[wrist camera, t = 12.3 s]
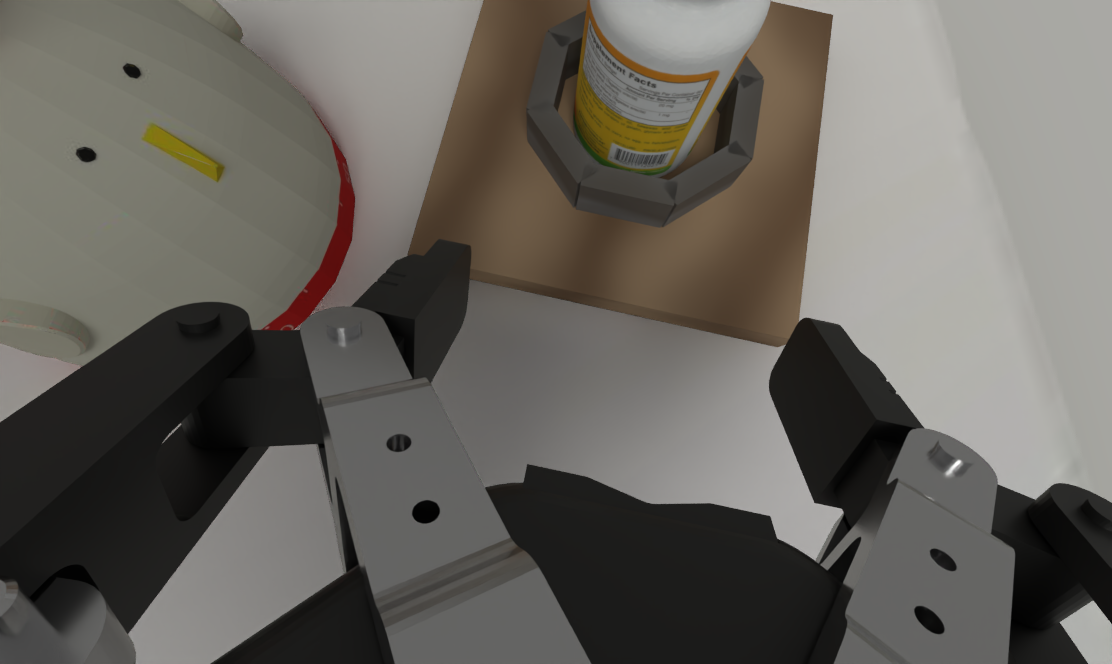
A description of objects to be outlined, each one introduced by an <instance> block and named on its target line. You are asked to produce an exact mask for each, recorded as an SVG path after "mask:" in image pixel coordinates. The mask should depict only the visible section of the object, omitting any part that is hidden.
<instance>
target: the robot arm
mask: <svg viewBox="0 0 1112 664" xmlns="http://www.w3.org/2000/svg"><path fill="white" fill-rule="evenodd" d="M470 267H471V246H470V245H467V244H462V243H457V242H453V241H448V240H443V239H438V240H437V241H436V242H435V243H434V245H433V246H432V247H431V248H430V249H429V250H428V251H427V253H426V254H425V255H424V256H422V255H417V254H412V255H409V256H407V257H404V258H402V259H399V260H397V261H395V262H394V264H393V265H392V266H391V267H390V268H389V269H388V270H387V271H386V274H385V273H384V274H383V275H382V276H381V277H380V278H379V279H378V281H377V282H375V283H374V284H373V285H372V286H371V287H370V288H369V289H368V290H367V291H366V292H365V293H364V294H363V295H362V296H361V297H360V298H359V299H358V300H357V301H356V302H355V303H354V304H353V305H352V306H351V307H335V308H329V309H325V310H322V311H319V312H317V313H315V314H313V315H311V316H310V317H308V318H307V319H306V320H305V321H304V322H303V323H302V325H301V328H300V330H252V328H251V323H250V318H249V315H248V313H247V312H246V311H245V310H244V309H242V308H241V307H239V306H236V305H233V304H229V303H223V302H199V303H191V304H186V305H182V306H178V307H175V308H172V309H170V310H167V311H165V312H163V313H161V314H160V315H158V316H156V317H155V318H153V319H152V320H150V321H149V322H147V323H146V324H144V325H143V326H141V327H140V328H139V329H137V330H136V331H134V332H133V333H131V334H130V335H128V336H127V337H125V338H124V339H122V340H121V341H119V342H118V343H116V344H115V345H113V346H112V347H111V348H109V349H108V350H106V351H105V352H103V353H102V354H100V355H99V356H97V357H96V358H94V359H93V360H91V361H90V362H88V363H87V364H85V365H84V366H83V367H81V368H80V369H78V370H77V371H75V372H74V373H72V374H71V375H69V376H68V377H66V378H65V379H63V380H62V381H60V382H59V383H57V384H56V385H55V386H53V387H52V388H50V389H49V390H47V391H46V392H44V393H43V394H41V395H40V396H38V397H37V398H35V399H34V400H32V401H31V402H29V403H28V404H27V405H25V406H24V407H22V408H21V409H19V410H18V411H16V412H15V413H13V414H12V415H10V416H9V417H7V418H6V419H4V420H3V421H1V422H0V664H136V651H135V647H134V644H133V642H132V640H131V638H130V637H129V635H128V633H129V632H130V631H131V629H132V628H133V627H134V625H135V624H136V623H137V621H138V620H139V619H140V617H141V616H142V615H143V613H144V612H145V611H146V609H147V608H148V607H149V605H150V604H151V603H152V601H153V600H154V599H155V597H156V596H157V595H158V593H159V592H160V591H161V589H162V588H163V587H164V585H165V584H166V583H167V581H168V580H169V579H170V577H171V576H172V575H173V573H174V572H175V571H176V569H177V568H178V567H179V566H180V564H181V563H182V562H183V560H184V559H185V558H186V556H187V555H188V554H189V552H190V551H191V550H192V548H193V547H194V546H195V544H196V543H197V542H198V540H199V539H200V538H201V536H202V535H203V534H204V532H205V531H206V530H207V528H208V527H209V526H210V524H211V523H212V522H213V520H214V519H215V518H216V516H217V515H218V514H219V512H220V511H221V510H222V508H223V507H224V506H225V504H226V503H227V502H228V500H229V499H230V498H231V497H232V495H233V494H234V493H235V491H236V490H237V489H238V487H239V486H240V485H241V483H242V482H243V481H244V479H245V478H246V477H247V475H248V474H249V473H250V471H251V470H252V469H253V467H254V466H255V465H256V463H257V462H258V461H259V459H260V458H261V457H262V455H263V454H264V453H265V451H266V450H267V449H268V447H269V446H284V445H305V444H316V446H317V450H318V455H319V459H320V464H321V468H322V472H323V477H324V481H325V485H326V490H327V494H328V498H329V503H330V507H331V511H332V516H333V520H334V525H335V530H336V536H337V542H338V547H339V553H340V558H341V563H342V568H343V572H344V574H343V575H342V576H340V577H339V578H338V579H336V580H335V581H333V582H332V583H330V584H329V585H327V586H326V587H324V588H323V589H321V590H320V591H318V592H317V593H315V594H314V595H312V596H311V597H309V598H308V599H306V600H305V601H303V602H302V603H300V604H299V605H297V606H296V607H294V608H293V609H291V610H290V611H288V612H287V613H285V614H284V615H282V616H281V617H279V618H278V619H276V620H275V621H273V622H272V623H271V624H269V625H268V626H266V627H265V628H263V629H262V630H260V631H259V632H257V633H256V634H254V635H253V636H251V637H250V638H248V639H247V640H245V641H244V642H242V643H241V644H239V645H238V646H236V647H235V648H233V649H232V650H230V651H229V652H227V653H226V654H224V655H223V656H221V657H220V658H218V659H217V660H215V661H214V662H212V663H211V664H1088V663H1087V661H1086V660H1085V659H1084V657H1083V656H1082V654H1081V653H1080V651H1079V650H1078V648H1077V647H1076V645H1075V644H1074V643H1073V641H1072V640H1071V638H1070V637H1069V635H1068V634H1067V632H1066V631H1065V630H1064V628H1063V627H1062V625H1061V624H1060V622H1061V621H1062V620H1064V619H1065V618H1067V617H1068V616H1070V615H1071V614H1073V613H1074V612H1076V611H1077V610H1079V609H1080V608H1082V607H1083V606H1085V605H1087V604H1088V603H1090V602H1091V601H1093V600H1094V602H1095V603H1096V604H1097V606H1098V607H1099V608H1100V609H1101V611H1102V612H1103V613H1104V615H1105V616H1106V617H1107V618H1108V620H1109V621H1110V622H1111V624H1112V503H1111V502H1109V501H1107V500H1106V499H1104V498H1102V497H1100V496H1098V495H1096V494H1094V493H1092V492H1090V491H1088V490H1085V489H1082V488H1080V487H1077V486H1073V485H1069V484H1062V483H1058V484H1054V485H1052V486H1051V487H1050V488H1049V489H1047V490H1046V491H1045V492H1044V493H1043V494H1042V495H1041V496H1039V497H1038V498H1037V499H1036V500H1035V499H1032V498H1030V497H1027V496H1025V495H1022V494H1020V493H1017V492H1015V491H1013V490H1010V489H1008V488H1005V487H1003V486H1000V485H998V484H997V483H998V481H997V476H996V474H995V472H994V471H993V469H992V468H991V466H990V465H989V464H988V463H987V462H986V461H985V460H984V459H983V458H982V457H981V456H980V455H979V454H977V453H976V452H975V451H973V450H972V449H971V448H969V447H968V446H966V445H965V444H963V443H961V442H960V441H958V440H956V439H954V438H952V437H950V436H948V435H945V434H943V433H940V432H937V431H934V430H930V429H924V427H923V426H922V425H921V423H920V422H919V421H918V419H917V418H916V417H915V415H914V414H913V413H912V412H911V410H910V409H909V408H908V406H907V405H906V404H905V402H904V401H903V400H902V398H901V397H900V396H899V395H898V394H896V391H895V389H894V388H893V387H892V385H891V384H890V383H889V382H887V381H886V377H885V376H884V375H883V373H882V372H881V371H880V369H879V368H878V367H877V366H876V364H875V363H874V362H872V361H871V360H870V359H869V358H867V357H866V356H865V355H864V354H862V353H861V352H860V351H859V350H858V348H857V347H856V346H855V344H854V343H853V341H852V340H851V339H850V337H849V336H848V335H847V333H846V332H845V331H844V329H843V328H842V327H841V326H840V325H838V324H834V323H829V322H825V321H820V320H815V319H811V318H804V319H802V320H801V321H800V322H799V323H798V324H797V325H796V327H795V329H794V331H793V332H792V334H791V336H790V338H789V340H788V342H787V344H786V345H785V347H784V349H783V351H782V353H781V355H780V357H779V358H778V360H777V362H776V364H775V366H774V368H773V370H772V372H771V376H770V380H769V391H770V395H771V397H772V400H773V402H774V405H775V407H776V410H777V412H778V415H779V417H780V420H781V422H782V424H783V427H784V429H785V432H786V434H787V437H788V439H789V442H790V444H791V446H792V449H793V451H794V454H795V456H796V459H797V461H798V464H799V466H800V468H801V471H802V473H803V476H804V478H805V481H806V483H807V486H808V488H809V491H810V493H811V495H812V498H813V500H814V503H818V504H823V505H827V506H832V507H837V508H841V509H842V510H843V512H844V513H843V514H842V515H841V516H840V518H839V519H838V520H837V521H836V523H835V524H834V526H833V528H832V529H831V531H830V533H829V535H828V537H827V539H826V541H825V543H824V545H823V547H822V549H821V551H820V552H819V554H818V556H817V558H816V560H813V559H812V558H810V557H809V556H807V555H806V554H804V553H803V552H801V551H800V550H798V549H796V548H795V547H793V546H791V545H789V544H787V543H785V542H783V541H781V540H779V539H777V537H776V534H775V530H774V527H773V524H772V521H771V517H770V516H767V515H762V514H757V513H753V512H748V511H743V510H739V509H734V508H729V507H725V506H720V505H715V504H711V503H707V504H650V503H646V502H643V501H641V500H639V499H636V498H634V497H632V496H629V495H627V494H625V493H623V492H620V491H618V490H616V489H613V488H611V487H609V486H607V485H604V484H602V483H600V482H597V481H595V480H593V479H591V478H588V477H585V476H580V475H575V474H571V473H566V472H561V471H557V470H552V469H548V468H543V467H538V466H534V465H529V464H527V469H526V474H525V478H524V483H507V484H499V485H494V486H490V487H486V488H485V487H484V486H483V484H482V482H481V480H480V478H479V476H478V474H477V472H476V470H475V468H474V466H473V464H472V462H471V461H470V459H469V457H468V455H467V453H466V451H465V449H464V447H463V445H462V443H461V441H460V439H459V437H458V436H457V434H456V432H455V430H454V428H453V426H452V424H451V422H450V420H449V418H448V416H447V414H446V413H445V411H444V409H443V407H442V405H441V403H440V401H439V399H438V397H437V395H436V393H435V391H434V389H433V388H432V386H431V382H432V380H433V378H434V376H435V374H436V373H437V371H438V369H439V367H440V365H441V363H442V361H443V360H444V358H445V356H446V354H447V352H448V350H449V349H450V347H451V345H452V343H453V341H454V339H455V338H456V336H457V334H458V332H459V330H460V328H461V326H462V324H463V321H464V318H465V314H466V309H467V302H468V290H469V279H470ZM180 423H181V426H180V427H179V428H178V429H177V430H176V431H175V432H174V433H173V434H172V435H171V436H170V437H169V438H168V439H167V440H166V441H165V442H164V443H163V444H162V442H163V441H164V439H165V438H166V437H167V436H168V435H169V433H170V432H171V431H172V430H174V429H175V428H176V427H177V426H178V425H179V424H180ZM161 444H162V445H161Z"/></svg>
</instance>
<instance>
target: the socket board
mask: <svg viewBox="0 0 1112 664" xmlns="http://www.w3.org/2000/svg"><path fill="white" fill-rule="evenodd" d="M587 1H588V0H484V1H483V5H482V8H481V11H480V15H479V18H478V21H477V25H476V28H475V31H474V35H473V38H472V41H471V45H470V48H469V51H468V55H467V58H466V61H465V65H464V68H463V71H462V75H461V78H460V81H459V85H458V88H457V91H456V95H455V98H454V101H453V105H452V108H451V111H450V115H449V118H448V121H447V125H446V128H445V131H444V135H443V138H442V141H441V145H440V148H439V151H438V155H437V158H436V161H435V165H434V168H433V171H432V175H431V178H430V181H429V185H428V188H427V191H426V195H425V198H424V201H423V205H422V208H421V211H420V215H419V218H418V221H417V225H416V228H415V231H414V235H413V238H412V241H411V245H410V248H409V251H408V256H409V255H412V254H417V255H422V256H424V255H425V254H426V253H427V251H428V250H429V249H430V248H431V247H432V246H433V245H434V243H435V242H436V241H437V240H438V239H443V240H448V241H453V242H457V243H462V244H467V245H470V246H471V267H470V279H472V280H477V281H481V282H486V283H491V284H495V285H500V286H504V287H509V288H513V289H518V290H522V291H527V292H531V293H536V294H540V295H545V296H549V297H554V298H558V299H563V300H567V301H572V302H576V303H581V304H585V305H590V306H594V307H599V308H603V309H608V310H612V311H617V312H621V313H626V314H631V315H635V316H640V317H644V318H649V319H653V320H658V321H662V322H667V323H671V324H676V325H680V326H685V327H689V328H694V329H698V330H703V331H707V332H712V333H716V334H721V335H725V336H730V337H734V338H739V339H743V340H748V341H752V342H757V343H761V344H766V345H770V346H775V347H780V346H782V345H785V344H787V342H788V340H789V338H790V336H791V334H792V332H793V331H794V329H795V327H796V325H797V324H798V322H799V313H800V304H801V295H802V286H803V278H804V269H805V260H806V251H807V242H808V233H809V224H810V215H811V206H812V197H813V188H814V179H815V171H816V162H817V153H818V144H819V135H820V126H821V117H822V108H823V99H824V90H825V81H826V72H827V63H828V55H829V46H830V37H831V28H832V19H833V15H831V14H826V13H822V12H817V11H813V10H808V9H804V8H799V7H795V6H790V5H785V4H781V3H776V2H772V1H771V2H770V7H769V10H768V13H767V16H766V18H765V21H764V23H763V25H762V27H761V29H760V31H759V33H758V35H757V37H756V39H755V41H754V43H753V44H752V46H751V48H750V50H749V52H748V53H747V55H746V57H745V58H744V60H743V62H742V64H741V65H740V67H739V69H738V71H737V72H736V74H735V76H734V77H733V79H732V81H731V83H730V84H729V86H728V88H727V90H726V91H725V93H724V95H723V97H722V98H721V100H720V102H719V104H718V105H717V107H716V109H715V111H714V112H713V114H712V116H711V118H710V119H709V121H708V123H707V125H706V126H705V128H704V130H703V132H702V133H701V135H700V137H699V139H698V141H697V143H696V144H695V146H694V148H693V149H692V151H691V152H690V154H689V155H688V157H687V158H686V159H685V160H684V162H683V163H682V164H681V165H680V166H678V167H677V168H676V169H675V170H673V171H672V172H670V173H668V174H667V175H664V176H662V177H659V178H657V177H652V176H648V175H643V174H639V173H634V172H630V171H625V170H620V169H616V168H611V167H607V166H602V165H598V164H594V162H593V161H592V160H591V158H590V157H589V155H588V154H587V153H586V151H585V150H584V148H583V147H582V146H581V144H580V143H579V141H578V140H577V139H576V135H575V132H574V126H573V113H574V103H575V95H576V87H577V79H578V71H579V64H580V55H581V47H582V39H583V32H584V24H585V16H586V8H587Z"/></svg>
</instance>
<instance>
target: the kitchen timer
mask: <svg viewBox="0 0 1112 664" xmlns="http://www.w3.org/2000/svg"><path fill="white" fill-rule="evenodd" d="M242 36H243V33H242V30H241V27H240V26H239V24H238V23H237V22H236V21H235V19H234V18H233V17H232V16H231V15H230V14H229V13H228V12H227V11H226V10H225V9H224V8H223V7H222V6H221V5H220V4H219V3H218V2H217V1H216V0H0V343H2V344H5V345H8V346H11V347H14V348H17V349H20V350H22V351H26V352H29V353H32V354H36V355H40V356H45V357H51V358H56V359H59V360H62V361H65V362H69V363H73V364H77V365H81V366H84V365H85V364H87V363H88V362H90V361H91V360H93V359H94V358H96V357H97V356H99V355H100V354H102V353H103V352H105V351H106V350H108V349H109V348H111V347H112V346H113V345H115V344H116V343H118V342H119V341H121V340H122V339H124V338H125V337H127V336H128V335H130V334H131V333H133V332H134V331H136V330H137V329H139V328H140V327H141V326H143V325H144V324H146V323H147V322H149V321H150V320H152V319H153V318H155V317H156V316H158V315H160V314H161V313H163V312H165V311H167V310H170V309H172V308H175V307H178V306H182V305H186V304H191V303H199V302H223V303H229V304H233V305H236V306H239V307H241V308H242V309H244V310H245V311H246V312H247V313H248V315H249V318H250V323H251V328H252V330H293V329H295V328H296V327H297V326H298V325H300V324H301V323H302V322H304V321H305V320H306V319H307V318H308V316H309V315H310V314H311V313H312V311H313V310H314V309H315V307H316V306H317V305H318V303H319V302H320V301H321V300H322V298H323V297H324V296H325V294H326V293H327V292H328V291H329V289H330V288H331V287H332V285H333V284H334V283H335V281H336V279H337V276H338V274H339V271H340V269H341V266H342V264H343V261H344V259H345V256H346V254H347V251H348V248H349V246H350V243H351V241H352V232H353V219H354V207H355V195H354V191H353V187H352V183H351V179H350V175H349V171H348V167H347V163H346V159H345V157H344V156H343V154H342V153H341V151H340V150H339V148H338V146H337V145H336V143H335V142H334V140H333V138H332V137H331V135H330V134H329V132H328V131H327V129H326V127H325V126H324V124H323V123H322V121H321V120H320V119H319V117H318V116H317V114H316V113H315V111H314V110H313V108H312V107H311V106H310V104H309V103H308V102H307V100H306V99H305V98H304V97H303V96H302V95H301V94H300V93H299V92H298V91H297V90H296V89H295V88H294V87H293V86H292V85H291V84H290V83H289V82H288V81H287V80H286V79H284V78H283V77H282V76H281V75H280V74H278V73H277V72H276V71H275V70H274V69H272V68H271V67H270V66H269V65H268V64H266V63H265V62H264V61H263V60H262V59H260V58H259V57H258V56H257V55H256V54H254V53H253V52H252V51H251V50H249V49H248V48H247V47H246V46H244V45H243V44H242V43H241V42H240V40H241V38H242Z"/></svg>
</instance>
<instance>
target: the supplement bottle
mask: <svg viewBox="0 0 1112 664" xmlns="http://www.w3.org/2000/svg"><path fill="white" fill-rule="evenodd" d="M770 2H771V0H588V1H587V8H586V16H585V24H584V32H583V39H582V47H581V55H580V64H579V71H578V79H577V87H576V95H575V103H574V113H573V126H574V132H575V135H576V139H577V140H578V141H579V143H580V144H581V146H582V147H583V148H584V150H585V151H586V153H587V154H588V155H589V157H590V158H591V160H592V161H593V162H594V164H598V165H602V166H607V167H611V168H616V169H620V170H625V171H630V172H634V173H639V174H643V175H648V176H652V177H657V178H659V177H662V176H664V175H667V174H668V173H670V172H672V171H673V170H675V169H676V168H677V167H678V166H680V165H681V164H682V163H683V162H684V160H685V159H686V158H687V157H688V155H689V154H690V152H691V151H692V149H693V148H694V146H695V144H696V143H697V141H698V139H699V137H700V135H701V133H702V132H703V130H704V128H705V126H706V125H707V123H708V121H709V119H710V118H711V116H712V114H713V112H714V111H715V109H716V107H717V105H718V104H719V102H720V100H721V98H722V97H723V95H724V93H725V91H726V90H727V88H728V86H729V84H730V83H731V81H732V79H733V77H734V76H735V74H736V72H737V71H738V69H739V67H740V65H741V64H742V62H743V60H744V58H745V57H746V55H747V53H748V52H749V50H750V48H751V46H752V44H753V43H754V41H755V39H756V37H757V35H758V33H759V31H760V29H761V27H762V25H763V23H764V21H765V18H766V16H767V13H768V10H769V7H770Z"/></svg>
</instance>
